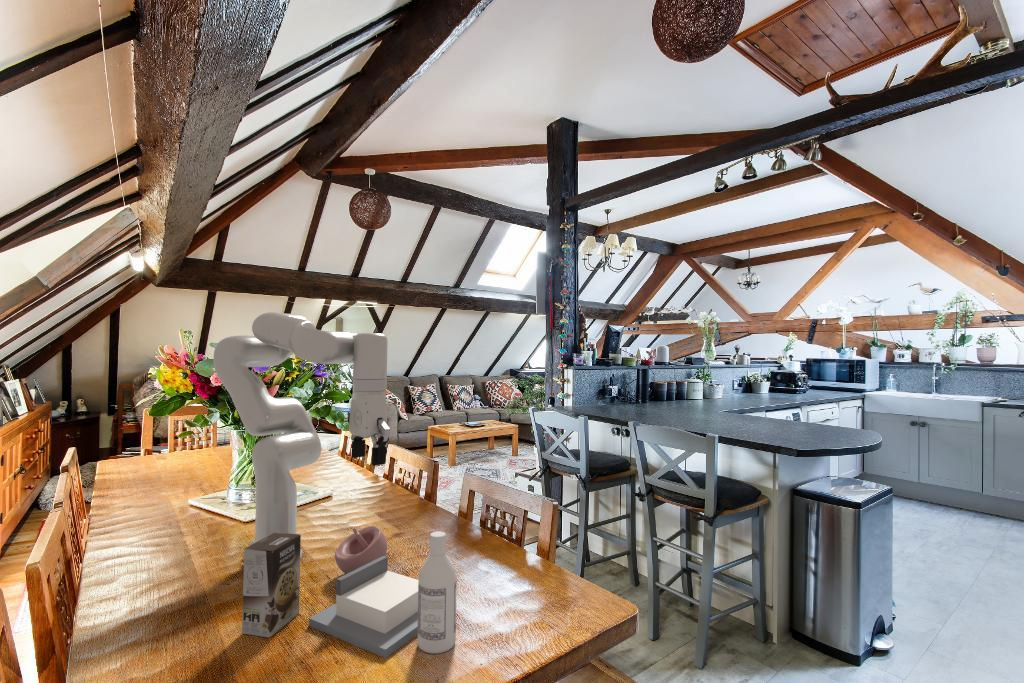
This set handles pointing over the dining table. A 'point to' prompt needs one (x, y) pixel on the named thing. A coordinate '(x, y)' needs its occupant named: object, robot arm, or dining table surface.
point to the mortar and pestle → (361, 548)
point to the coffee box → (271, 584)
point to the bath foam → (437, 599)
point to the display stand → (372, 609)
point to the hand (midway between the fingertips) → (368, 460)
